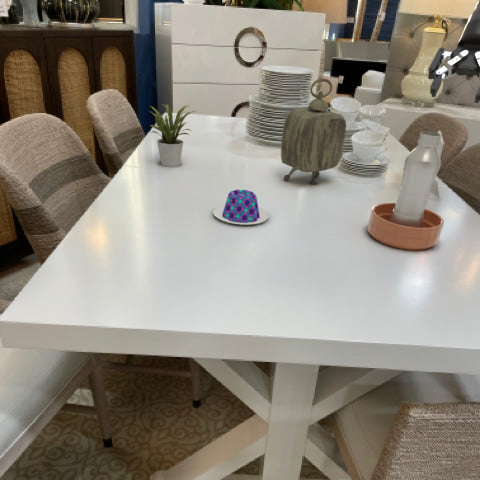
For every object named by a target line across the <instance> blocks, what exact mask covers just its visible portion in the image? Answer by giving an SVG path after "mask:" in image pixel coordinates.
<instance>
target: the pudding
mask: <svg viewBox="0 0 480 480" xmlns="http://www.w3.org/2000/svg"><path fill="white" fill-rule="evenodd" d="M212 213H213V215H214V216H215V218H217V219H218V220H221V221H223V222H225V223H228V224H229V223H230V224H235V225H244V226H245V225H248V226H249V225H257V224H261V223H264V222H266V221H267V220H268V219H269V213H268V212H267V211H266V210H265V209H263V208H260V207H259V203H258V197H257V195H256V193H254V192H253V191H251V190H247V189H234V190H231V191H229V193H228V194H227V198H226V201H225V204H223V205H219V206H217V207H215V208H214V209H213V212H212Z"/></svg>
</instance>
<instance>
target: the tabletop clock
mask: <svg viewBox="0 0 480 480" xmlns="http://www.w3.org/2000/svg"><path fill="white" fill-rule="evenodd" d="M318 83H326V84H328V85H329V91H328V92H326V93H324V92H323V91H322V90H320V91H318V94H316V93H314V92H313V88H314V86H315V85H316V84H318ZM332 90H333V85H332V82H331V80H329V79H328V78H318V79H316V80H314V81H313V82H312V83H311V86H310V89H309V91H310V94H311V96H312V97H313V98H314V99H312V100H311V101H310V102H309V104H308V107H307V106H306V107H300V108H295V109H292V110H290V111H289V112H287V115H286V117H285V120H284V123H283V127H282V134H281V141H280V142H281V143H280V160H281V163H282V164H284V165H286V166H289V167H290V168H291V170H290V171H289V173H287V174H285V175H283V180H284V181H285V182H288V181H289V180H290V179H291V175H292V174H293V173H295V172H297V171H300V172H302V173H311V177H312V178H310V184H311V185H316V184H317V178H315V177H319V176H320V172H323V171H327V170H330V169H334V168H335V167H337V166H338V165H339V163H340V161H341V158H342V154H343V148H344V144H345V139H346V131H347V122H346V119H345V117H344V115H342V114H341V113H337V112H333V111H330V110H329V104H328V102H327V100H325V99H324V98H326V97H328V96H329V95H330V94H331V92H332Z"/></svg>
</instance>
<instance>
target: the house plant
mask: <svg viewBox="0 0 480 480" xmlns="http://www.w3.org/2000/svg"><path fill="white" fill-rule="evenodd" d="M189 106H190V104H188V105H184V106H182V107H181V108H180V109H179V110H178V111H177V113H176V115H175V119H174V117H173V111H172V109H171V107H170V106H169V103H168V102H166V104H164V105H163V107H164V108H165V111H166V113H167V114H166V115H165V116H164V117H163V116H162V114H161V113H160V112H159V111H158V110H157V109H156V108H155V107H154V106H151V105H150V108H152V110H153V111H154V112H155V113H153V111H150V110H149V111H148V112H149V113H152V115H153V116H154V122H155V124H153V125H152V124H149V126H150V127H152V128H154V129H156V130H157V131H155V130H152V131H151V133H154V134H157V135H158V136H160V137H161V138H159V139H157V140H156V142H157V148H158V149H157V150H158V154H159V160H160V165H161V166H164V167H168V168H169V167H170V168H173V167H179V166H180V165H181V160H182V154H183V147H184V140H181V139H178V138H179V136H181V135H187V136H190V134H189V133H188V132H184V131H190V132H191V133H192V130H191V129H190V128H185V129H183V127H184V126H185V124H188V123H189V122H187V121H185V122H184V120H185V119H186V117H187V116H188V115H190V114H191V113H194V112H195V110H192V111H188V112H186V111H185V109H186V108H187V107H189ZM182 129H183V130H182ZM158 131H159V132H161V133H159V132H158Z"/></svg>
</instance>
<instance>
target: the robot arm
mask: <svg viewBox="0 0 480 480" xmlns="http://www.w3.org/2000/svg"><path fill="white" fill-rule="evenodd" d="M446 61H447V62H446ZM445 62H446V63H445ZM444 64H445V65H444ZM441 65H443V66H441ZM427 71H428V74H427V79H428V80H432V82H431V84H430V87H429V94H430V95H431V98H436V97H437V94H438V92H439V90H440V89H441V85H442V82H443V81H445V80H446V79H450V78H452V77H453V76H455V75H457V76H460V77H461V76H466V77H468V78H473V77H474V76H476V78H477V80H478V82H479V83H480V0H478V1H477V3H476V5H475V7H474V9H473V11H472V13H471V15H470V16H469V18H468V20H467V22H466V23H465V26H464V29H463V31H462V33H461V36H460V39H459V40H458V43H457V44H456V47H455V49H454V50H452V51H446V50H445V48H444V47H439V48H438V50H437V51H436V53H435V55H434V57H433V59H432V61H431V63H430V64H429V67H428V69H427ZM479 103H480V86H479V87H478V90H477V92H476V95H475V97H474V104H479Z"/></svg>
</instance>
